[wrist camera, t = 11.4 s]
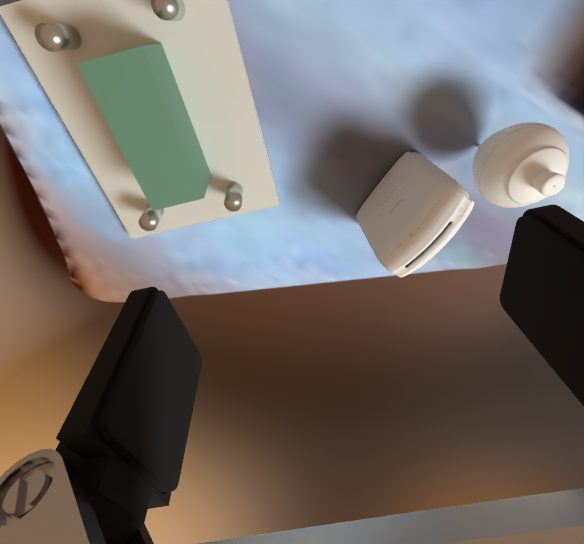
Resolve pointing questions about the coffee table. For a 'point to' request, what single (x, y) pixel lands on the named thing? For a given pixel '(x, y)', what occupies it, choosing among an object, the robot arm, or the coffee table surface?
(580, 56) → the coffee table surface
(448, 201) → the photo printer
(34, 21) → the standoff plate
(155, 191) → the board block
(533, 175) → the spinning top
